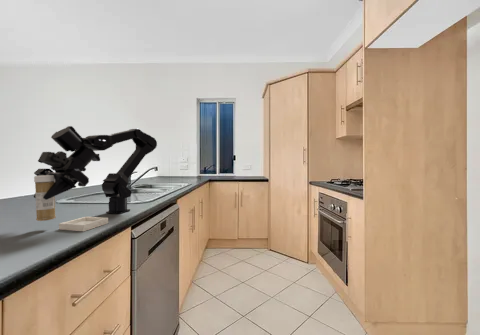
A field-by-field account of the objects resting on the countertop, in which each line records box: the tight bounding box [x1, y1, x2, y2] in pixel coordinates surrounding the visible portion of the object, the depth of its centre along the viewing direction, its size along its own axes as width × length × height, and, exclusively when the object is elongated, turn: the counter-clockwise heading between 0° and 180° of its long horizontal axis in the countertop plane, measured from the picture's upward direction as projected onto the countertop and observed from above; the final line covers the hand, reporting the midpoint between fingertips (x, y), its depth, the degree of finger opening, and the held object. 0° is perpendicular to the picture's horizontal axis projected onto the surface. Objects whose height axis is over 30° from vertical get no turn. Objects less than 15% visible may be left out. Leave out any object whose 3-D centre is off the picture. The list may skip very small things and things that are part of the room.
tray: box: [58, 216, 109, 232], centre depth 70 cm, size 9×9×2 cm
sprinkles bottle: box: [33, 175, 56, 222], centre depth 66 cm, size 5×5×13 cm
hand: (39, 198), depth 65 cm, fingers closed on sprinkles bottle, 4 cm apart
